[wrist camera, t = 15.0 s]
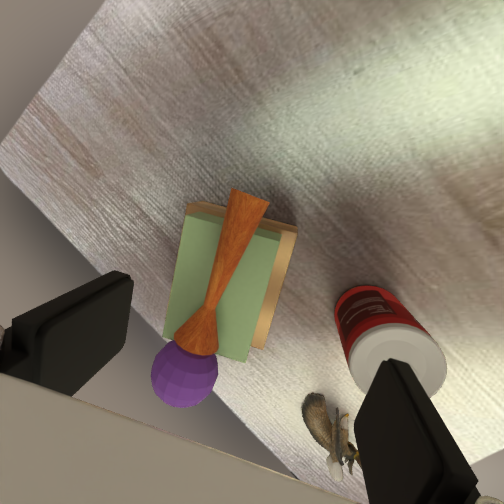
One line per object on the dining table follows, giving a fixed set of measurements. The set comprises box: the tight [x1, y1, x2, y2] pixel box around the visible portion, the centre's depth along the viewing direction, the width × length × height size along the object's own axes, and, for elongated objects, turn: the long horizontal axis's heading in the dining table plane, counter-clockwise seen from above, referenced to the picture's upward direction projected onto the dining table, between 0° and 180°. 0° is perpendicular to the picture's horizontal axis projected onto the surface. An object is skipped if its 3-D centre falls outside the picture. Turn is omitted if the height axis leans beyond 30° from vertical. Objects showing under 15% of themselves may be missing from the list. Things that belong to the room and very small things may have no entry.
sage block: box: [162, 212, 282, 363], centre depth 29 cm, size 13×9×4 cm
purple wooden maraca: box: [151, 188, 270, 408], centre depth 25 cm, size 6×6×20 cm
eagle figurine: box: [302, 393, 362, 481], centre depth 36 cm, size 8×7×9 cm
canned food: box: [334, 285, 447, 398], centre depth 29 cm, size 8×8×11 cm
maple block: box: [165, 201, 298, 350], centre depth 34 cm, size 14×12×5 cm
